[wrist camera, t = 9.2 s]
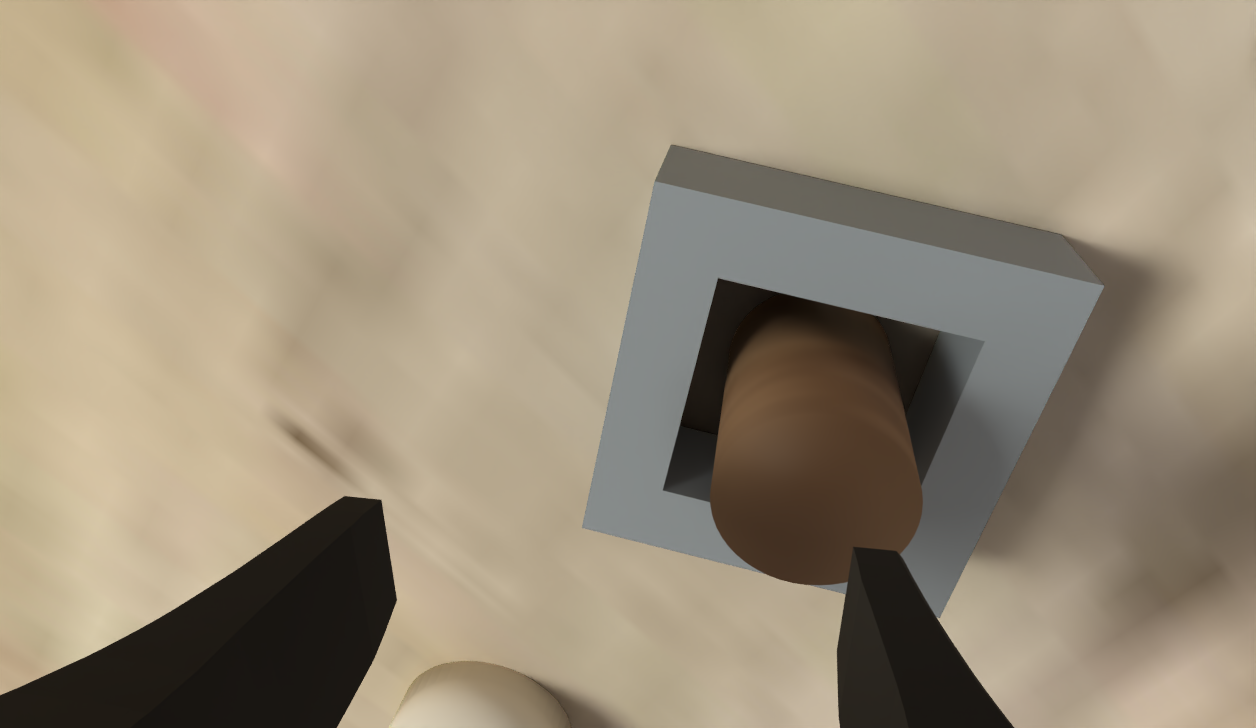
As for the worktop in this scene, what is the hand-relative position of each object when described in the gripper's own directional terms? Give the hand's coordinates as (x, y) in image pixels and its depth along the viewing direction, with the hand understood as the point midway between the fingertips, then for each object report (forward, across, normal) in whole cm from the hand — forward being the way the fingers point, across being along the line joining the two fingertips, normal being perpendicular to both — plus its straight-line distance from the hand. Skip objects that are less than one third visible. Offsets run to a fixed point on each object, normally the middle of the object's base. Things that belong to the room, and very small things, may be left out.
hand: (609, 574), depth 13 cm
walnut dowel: (+10, -3, +1) cm, 11 cm away
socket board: (+10, -3, +1) cm, 10 cm away
